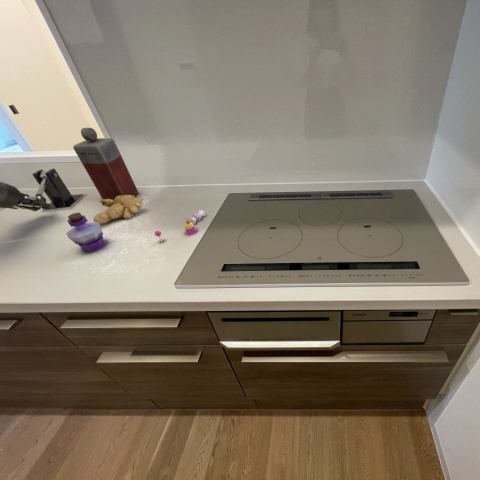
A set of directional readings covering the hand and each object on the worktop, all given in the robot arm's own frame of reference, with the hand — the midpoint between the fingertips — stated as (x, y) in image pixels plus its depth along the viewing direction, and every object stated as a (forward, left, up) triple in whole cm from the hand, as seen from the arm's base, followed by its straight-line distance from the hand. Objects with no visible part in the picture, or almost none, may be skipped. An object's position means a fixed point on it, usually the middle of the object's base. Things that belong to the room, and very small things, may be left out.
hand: (42, 207), depth 95 cm
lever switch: (-5, +10, -4) cm, 12 cm away
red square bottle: (+14, +18, -4) cm, 23 cm away
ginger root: (+25, +9, -4) cm, 27 cm away
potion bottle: (+33, -10, -4) cm, 35 cm away
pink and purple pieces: (+55, +5, -4) cm, 56 cm away
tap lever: (-2, +4, +3) cm, 6 cm away
